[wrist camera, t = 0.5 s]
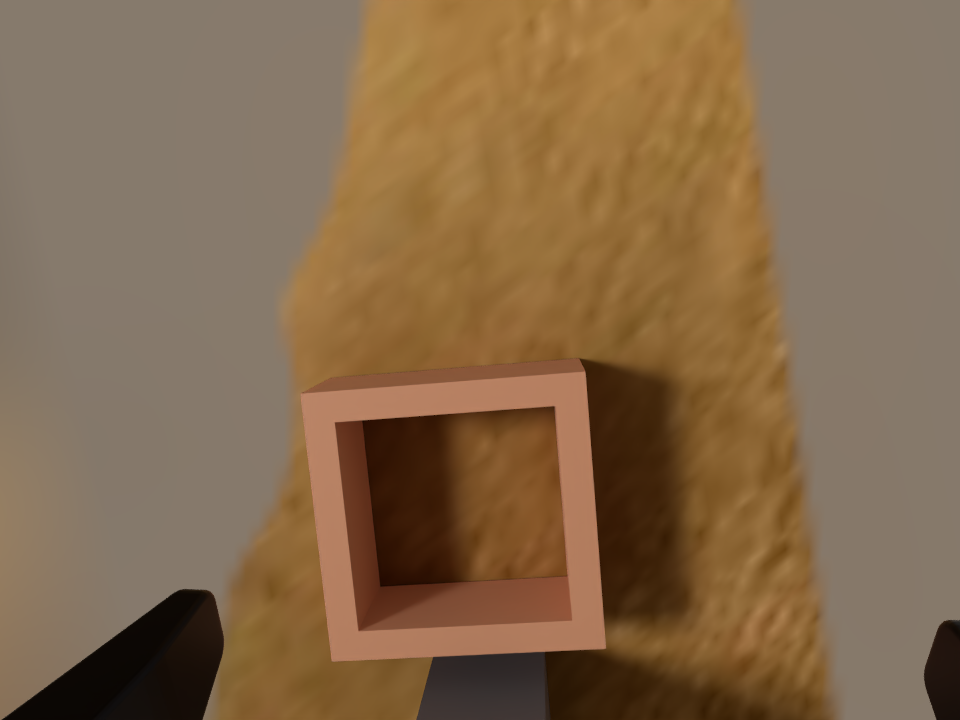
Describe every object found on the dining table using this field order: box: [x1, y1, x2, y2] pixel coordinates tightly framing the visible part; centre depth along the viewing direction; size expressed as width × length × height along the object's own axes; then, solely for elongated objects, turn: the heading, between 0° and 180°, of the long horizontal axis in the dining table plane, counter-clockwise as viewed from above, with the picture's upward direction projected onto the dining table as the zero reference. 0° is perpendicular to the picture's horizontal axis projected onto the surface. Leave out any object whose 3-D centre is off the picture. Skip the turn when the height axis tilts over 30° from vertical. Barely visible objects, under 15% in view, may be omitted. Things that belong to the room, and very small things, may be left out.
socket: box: [301, 358, 606, 662], centre depth 26 cm, size 9×9×4 cm
